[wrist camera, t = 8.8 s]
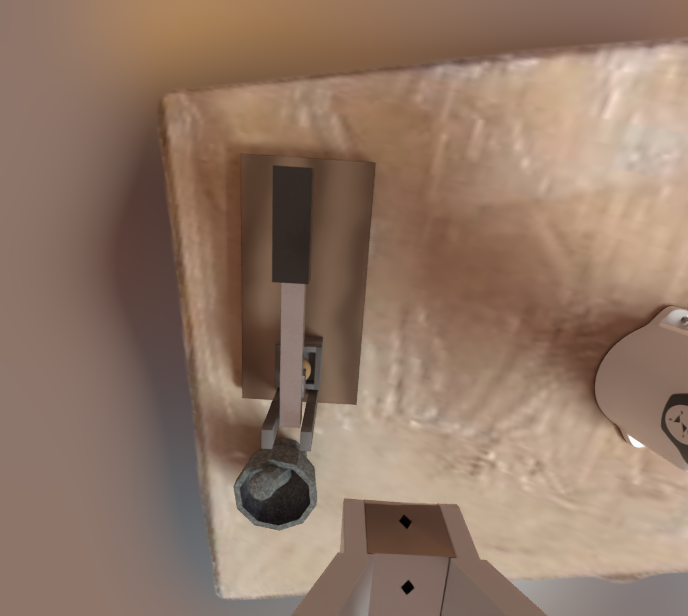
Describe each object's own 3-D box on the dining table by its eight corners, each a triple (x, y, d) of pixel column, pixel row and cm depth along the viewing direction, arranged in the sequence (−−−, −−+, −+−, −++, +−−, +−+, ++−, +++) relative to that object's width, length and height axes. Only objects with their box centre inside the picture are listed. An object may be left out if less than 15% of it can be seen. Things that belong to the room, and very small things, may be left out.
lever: (316, 171, 32) (312, 167, 28) (307, 413, 39) (302, 439, 35) (282, 169, 32) (272, 165, 28) (278, 411, 39) (271, 437, 35)
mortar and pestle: (322, 487, 51) (315, 568, 39) (254, 490, 51) (227, 572, 40) (315, 414, 48) (305, 478, 37) (244, 418, 48) (211, 483, 37)
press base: (374, 165, 41) (387, 143, 28) (355, 396, 48) (359, 463, 35) (245, 156, 40) (201, 131, 28) (246, 390, 47) (211, 455, 35)
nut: (312, 352, 41) (310, 363, 38) (311, 377, 42) (308, 389, 39) (285, 350, 41) (281, 361, 38) (284, 375, 42) (280, 387, 39)
